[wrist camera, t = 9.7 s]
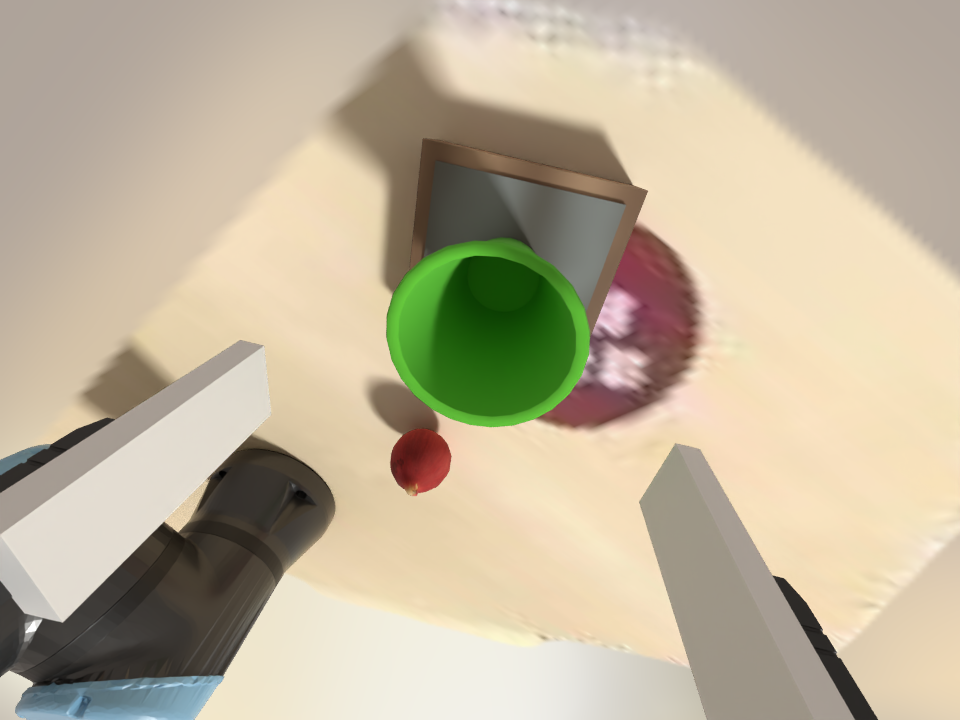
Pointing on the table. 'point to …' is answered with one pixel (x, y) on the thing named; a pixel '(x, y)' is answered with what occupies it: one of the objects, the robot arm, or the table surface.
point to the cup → (488, 333)
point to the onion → (420, 461)
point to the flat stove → (526, 213)
